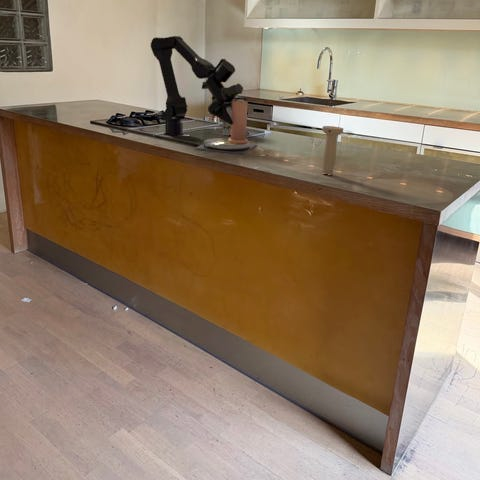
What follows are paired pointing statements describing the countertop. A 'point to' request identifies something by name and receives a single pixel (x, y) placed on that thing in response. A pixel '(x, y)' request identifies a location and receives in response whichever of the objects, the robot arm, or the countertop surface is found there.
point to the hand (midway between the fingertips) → (239, 122)
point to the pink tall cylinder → (238, 122)
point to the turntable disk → (224, 144)
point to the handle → (330, 148)
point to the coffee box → (226, 125)
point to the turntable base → (242, 151)
